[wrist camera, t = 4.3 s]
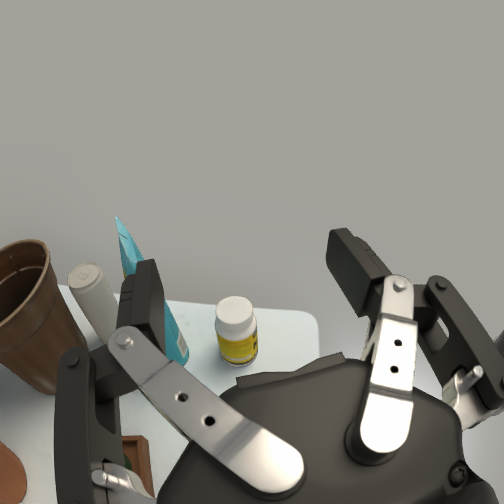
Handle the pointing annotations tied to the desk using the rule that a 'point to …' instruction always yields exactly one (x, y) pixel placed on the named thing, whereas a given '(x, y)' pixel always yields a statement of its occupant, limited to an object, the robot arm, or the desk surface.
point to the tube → (173, 336)
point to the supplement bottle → (236, 331)
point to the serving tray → (139, 459)
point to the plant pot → (33, 316)
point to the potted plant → (11, 477)
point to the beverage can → (94, 298)
